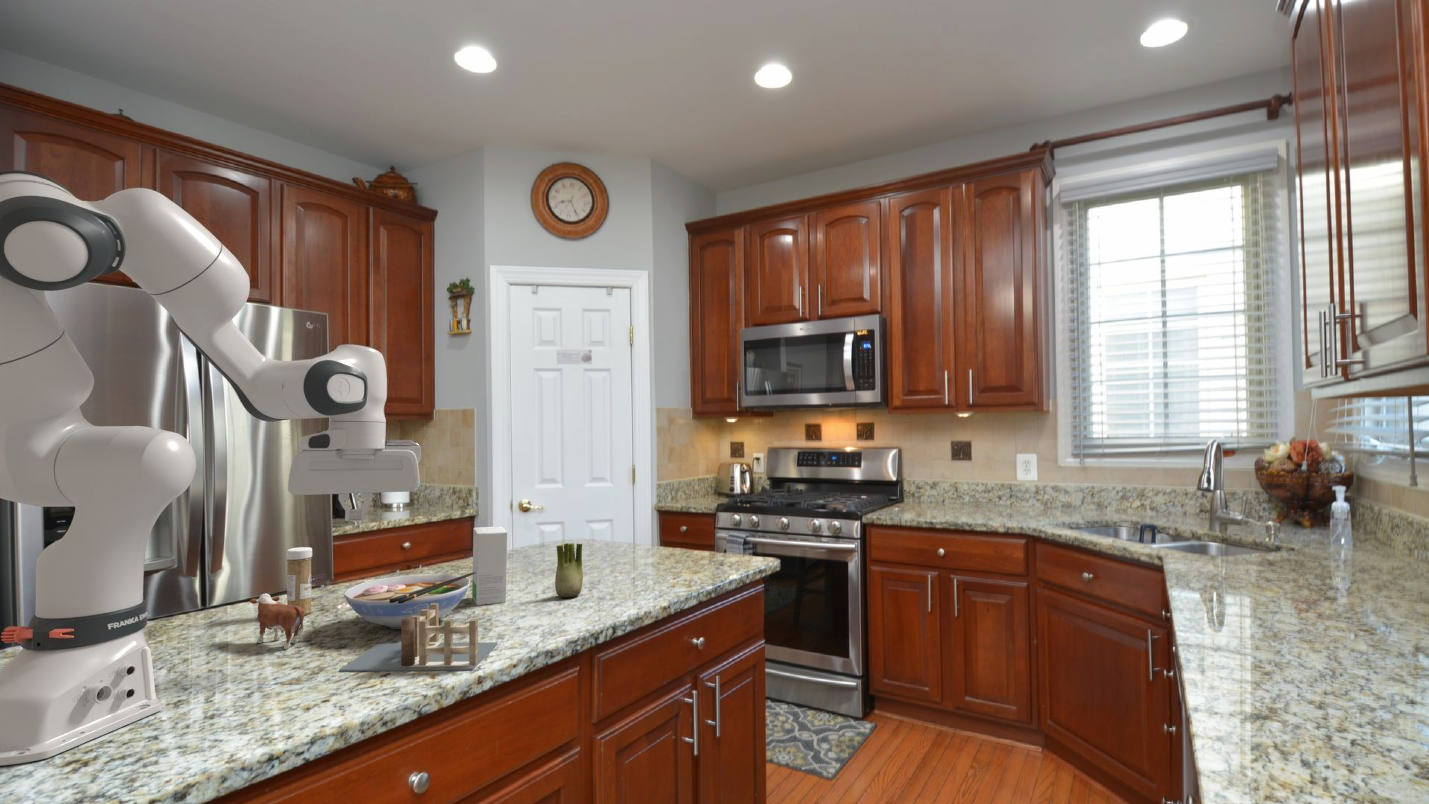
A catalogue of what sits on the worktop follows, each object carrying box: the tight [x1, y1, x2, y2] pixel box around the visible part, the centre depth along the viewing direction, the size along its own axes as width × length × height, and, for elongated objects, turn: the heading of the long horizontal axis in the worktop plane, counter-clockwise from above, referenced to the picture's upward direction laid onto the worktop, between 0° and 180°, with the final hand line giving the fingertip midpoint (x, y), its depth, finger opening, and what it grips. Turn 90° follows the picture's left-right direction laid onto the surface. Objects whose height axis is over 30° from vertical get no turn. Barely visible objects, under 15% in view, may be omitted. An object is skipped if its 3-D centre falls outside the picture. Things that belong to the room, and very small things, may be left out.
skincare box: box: [471, 525, 508, 606], centre depth 156 cm, size 8×7×16 cm
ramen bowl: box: [343, 571, 475, 630], centre depth 138 cm, size 25×23×8 cm
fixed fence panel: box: [419, 618, 479, 665], centre depth 114 cm, size 9×1×7 cm, turn 90°
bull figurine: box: [249, 593, 305, 650], centre depth 127 cm, size 4×13×8 cm, turn 59°
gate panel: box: [410, 603, 440, 657], centre depth 120 cm, size 9×1×6 cm, turn 179°
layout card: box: [338, 641, 498, 673], centre depth 118 cm, size 13×21×1 cm, turn 90°
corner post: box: [400, 618, 415, 666], centre depth 114 cm, size 2×2×8 cm
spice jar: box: [285, 546, 313, 616], centre depth 146 cm, size 5×5×14 cm
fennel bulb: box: [554, 543, 584, 599], centre depth 158 cm, size 6×5×12 cm
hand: (354, 520), depth 121 cm, fingers closed
